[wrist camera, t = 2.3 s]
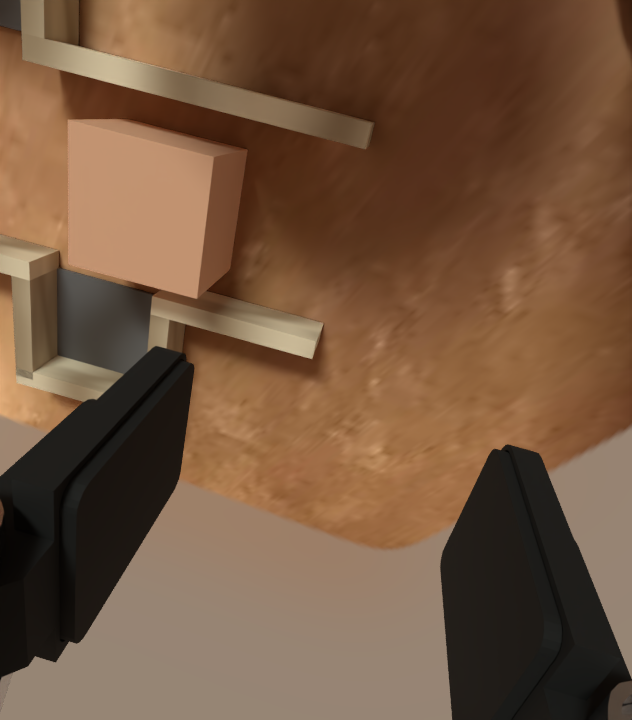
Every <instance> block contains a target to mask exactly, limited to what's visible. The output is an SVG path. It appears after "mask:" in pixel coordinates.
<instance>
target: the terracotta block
mask: <svg viewBox="0 0 632 720" xmlns="http://www.w3.org/2000/svg"><path fill="white" fill-rule="evenodd" d="M247 151H248V149H244V148H240V147H236V146H232V145H228V144H224V143H220V142H216V141H213V140H209V139H205V138H201V137H197V136H193V135H189V134H185V133H181V132H177V131H173V130H169V129H165V128H161V127H157V126H154V125H150V124H146V123H142V122H138V121H134V120H130V119H81V120H68V265H71V266H75V267H79V268H83V269H86V270H90V271H94V272H98V273H101V274H105V275H109V276H113V277H116V278H120V279H124V280H128V281H131V282H135V283H139V284H143V285H146V286H150V287H154V288H158V289H161V290H165V291H169V292H173V293H176V294H180V295H184V296H187V297H191V298H195V299H197V298H199V297H200V296H201V295H202V294H203V293H204V292H205V291H206V290H207V289H209V288H210V287H211V286H212V285H213V284H214V283H215V282H216V281H218V280H219V279H220V278H221V277H222V276H223V275H224V274H225V273H227V272H228V271H229V270H230V267H231V260H232V253H233V246H234V239H235V233H236V226H237V219H238V212H239V205H240V199H241V192H242V185H243V178H244V171H245V165H246V158H247Z"/></svg>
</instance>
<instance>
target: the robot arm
mask: <svg viewBox="0 0 632 720" xmlns="http://www.w3.org/2000/svg"><path fill="white" fill-rule="evenodd" d="M193 375H194V365H193V364H192V363H188V362H186V355H185V354H184V353H181V352H177V351H174V350H170V349H166V348H163V347H159V346H155V347H153V348H152V349H151V350H150V351H149V352H147V353H146V354H145V355H144V356H143V357H142V358H141V359H140V360H139V361H138V362H137V363H136V364H135V365H133V366H132V367H131V368H130V369H129V370H128V371H127V372H126V373H125V374H124V375H123V376H122V377H120V378H119V379H118V380H117V381H116V382H115V383H114V384H113V385H112V386H111V387H110V388H109V389H108V390H106V391H105V392H104V393H103V394H102V395H101V396H100V397H99V398H98V399H97V400H96V399H88V400H86V401H85V402H83V403H82V404H81V405H80V406H78V407H77V408H76V409H75V410H74V411H73V412H72V413H71V414H70V415H68V416H67V417H66V418H65V419H64V420H63V421H62V422H61V423H59V424H58V425H57V426H56V427H55V428H54V429H53V430H52V431H51V432H49V433H48V434H47V435H46V436H45V437H44V438H43V439H42V440H40V441H39V442H38V443H37V444H36V445H35V446H34V447H33V448H32V449H30V451H28V452H27V453H26V454H25V455H24V456H23V457H22V458H20V459H19V460H18V461H17V462H16V463H15V464H14V465H13V466H11V467H10V468H9V469H8V470H7V471H6V472H5V473H4V474H3V475H1V476H0V711H1V708H2V705H3V702H4V698H5V695H6V692H7V689H8V686H9V683H10V679H11V677H12V673H13V672H15V671H18V670H20V669H22V668H25V667H27V666H29V664H30V663H31V661H32V660H33V658H34V657H35V656H36V657H40V658H43V659H46V660H50V661H53V662H56V661H57V660H58V658H59V656H60V655H61V653H62V652H63V650H64V649H65V647H66V645H67V644H68V642H69V641H70V642H73V643H79V642H80V641H81V640H82V639H83V638H84V636H85V634H86V633H87V631H88V630H89V628H90V627H91V625H92V623H93V622H94V620H95V618H96V617H97V615H98V613H99V612H100V610H101V609H102V607H103V605H104V604H105V602H106V600H107V599H108V597H109V596H110V594H111V592H112V591H113V589H114V587H115V586H116V584H117V583H118V581H119V579H120V578H121V576H122V574H123V572H124V571H125V570H126V568H127V566H128V565H129V563H130V561H131V560H132V558H133V556H134V555H135V553H136V551H137V550H138V548H139V547H140V545H141V543H142V542H143V540H144V538H145V537H146V535H147V534H148V532H149V530H150V529H151V527H152V525H153V524H154V522H155V521H156V519H157V517H158V516H159V514H160V512H161V511H162V509H163V507H164V506H165V504H166V503H167V501H168V499H169V498H170V496H171V494H172V493H173V491H174V489H175V487H176V485H177V482H178V480H179V476H180V472H181V464H182V457H183V449H184V442H185V435H186V427H187V420H188V412H189V405H190V397H191V390H192V383H193ZM440 568H441V582H442V595H443V608H444V620H445V632H446V646H447V658H448V671H449V683H450V696H451V709H452V720H632V679H631V676H630V674H629V671H628V669H627V667H626V664H625V662H624V659H623V657H622V654H621V652H620V649H619V647H618V644H617V642H616V639H615V637H614V634H613V632H612V629H611V627H610V624H609V622H608V619H607V617H606V614H605V612H604V609H603V607H602V604H601V602H600V599H599V597H598V594H597V592H596V589H595V587H594V584H593V582H592V580H591V577H590V575H589V572H588V570H587V567H586V565H585V562H584V560H583V557H582V555H581V552H580V550H579V547H578V545H577V543H576V542H575V540H574V538H573V536H572V534H571V531H570V528H569V526H568V523H567V521H566V518H565V516H564V513H563V511H562V508H561V506H560V503H559V501H558V498H557V496H556V493H555V491H554V488H553V486H552V483H551V481H550V478H549V476H548V473H547V471H546V468H545V465H544V463H543V460H542V458H541V456H540V454H539V453H536V452H533V451H530V450H526V449H522V448H519V447H515V446H512V445H505V446H504V447H503V448H502V450H498V449H493V450H492V451H491V453H490V454H489V456H488V458H487V461H486V463H485V465H484V467H483V469H482V471H481V473H480V475H479V477H478V479H477V481H476V483H475V485H474V487H473V490H472V492H471V494H470V496H469V498H468V500H467V502H466V504H465V506H464V508H463V510H462V512H461V514H460V517H459V519H458V521H457V523H456V525H455V527H454V529H453V531H452V533H451V535H450V537H449V540H448V542H447V544H446V546H445V548H444V550H443V553H442V558H441V567H440Z"/></svg>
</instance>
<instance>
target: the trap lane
mask: <svg viewBox="0 0 632 720" xmlns="http://www.w3.org/2000/svg"><path fill="white" fill-rule="evenodd" d="M0 26H3V27H7V28H11V29H15V30H19V31H22V60H25V61H28V62H32V63H36V64H40V65H44V66H48V67H51V68H55V69H59V70H63V71H67V72H71V73H74V74H78V75H82V76H86V77H90V78H94V79H97V80H101V81H105V82H109V83H113V84H117V85H120V86H124V87H128V88H132V89H136V90H140V91H143V92H147V93H151V94H155V95H159V96H163V97H167V98H170V99H174V100H178V101H182V102H186V103H190V104H193V105H197V106H201V107H205V108H209V109H213V110H216V111H220V112H224V113H228V114H232V115H236V116H239V117H243V118H247V119H251V120H255V121H259V122H262V123H266V124H270V125H274V126H278V127H282V128H285V129H289V130H293V131H297V132H301V133H305V134H308V135H312V136H316V137H320V138H324V139H328V140H331V141H335V142H339V143H343V144H347V145H351V146H354V147H358V148H362V149H366V148H367V147H368V146H369V144H370V140H371V136H372V132H373V128H374V124H375V122H371V121H368V120H364V119H360V118H356V117H352V116H348V115H344V114H341V113H337V112H333V111H329V110H325V109H321V108H317V107H313V106H310V105H306V104H302V103H298V102H294V101H290V100H286V99H282V98H279V97H275V96H271V95H267V94H263V93H259V92H255V91H252V90H248V89H244V88H240V87H236V86H232V85H228V84H224V83H221V82H217V81H213V80H209V79H205V78H201V77H197V76H193V75H190V74H186V73H182V72H178V71H174V70H170V69H166V68H163V67H159V66H155V65H151V64H147V63H143V62H139V61H135V60H132V59H128V58H124V57H120V56H116V55H112V54H108V53H104V52H101V51H97V50H93V49H89V48H85V47H81V46H79V0H0ZM0 273H4V274H7V275H11V279H12V299H13V319H14V339H15V359H16V379H17V383H19V384H23V385H26V386H30V387H33V388H37V389H40V390H44V391H47V392H51V393H54V394H58V395H61V396H65V397H68V398H72V399H75V400H79V401H82V402H85V401H86V400H88V399H96V400H97V399H98V398H99V397H100V396H101V395H102V394H103V393H104V392H105V391H106V390H108V389H109V388H110V387H111V386H112V385H113V384H114V383H115V382H116V381H117V380H118V379H119V378H120V377H122V376H123V375H124V374H125V373H126V372H127V371H128V370H129V369H130V368H131V367H132V366H133V365H135V364H136V363H137V362H138V361H139V360H140V359H141V358H142V357H143V356H144V355H145V354H146V353H147V352H149V351H150V350H151V349H152V348H153V347H155V346H159V347H163V348H166V349H170V350H174V351H177V352H181V353H182V349H183V341H184V332H185V324H187V325H191V326H195V327H198V328H202V329H205V330H209V331H212V332H216V333H220V334H223V335H227V336H230V337H234V338H238V339H241V340H245V341H248V342H252V343H256V344H259V345H263V346H266V347H270V348H274V349H277V350H281V351H284V352H288V353H292V354H295V355H299V356H302V357H306V358H310V359H312V358H313V355H314V353H315V350H316V347H317V345H318V342H319V339H320V336H321V332H322V328H323V324H324V323H321V322H318V321H314V320H311V319H307V318H303V317H300V316H296V315H292V314H289V313H285V312H281V311H278V310H274V309H270V308H267V307H263V306H260V305H256V304H252V303H249V302H245V301H241V300H238V299H234V298H230V297H227V296H223V295H220V294H216V293H212V292H209V291H205V292H204V293H203V294H202V295H201V296H200V297H199V298H197V299H195V298H191V297H187V296H184V295H180V294H176V293H173V292H169V291H165V290H160V291H158V292H157V293H156V294H153V293H149V292H145V291H142V290H138V289H134V288H131V287H127V286H124V285H120V284H116V283H113V282H109V281H106V280H102V279H98V278H95V277H91V276H87V275H84V274H80V273H77V272H73V271H69V270H66V269H62V268H59V250H56V249H52V248H49V247H45V246H41V245H38V244H34V243H30V242H27V241H23V240H19V239H16V238H12V237H9V236H5V235H1V234H0Z"/></svg>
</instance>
